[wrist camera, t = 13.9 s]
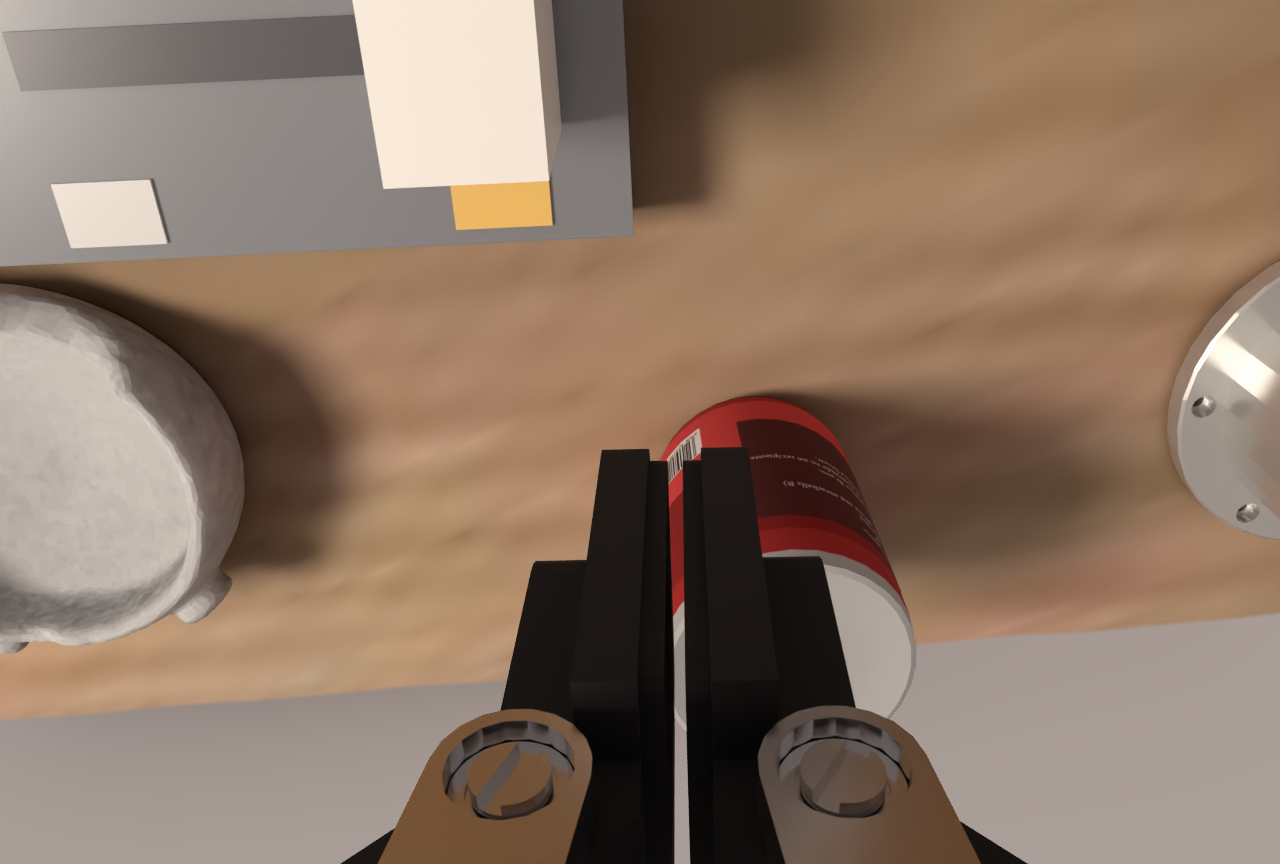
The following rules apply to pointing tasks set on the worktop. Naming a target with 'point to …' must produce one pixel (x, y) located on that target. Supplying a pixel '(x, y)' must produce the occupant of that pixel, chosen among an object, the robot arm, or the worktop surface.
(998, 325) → the worktop surface
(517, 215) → the breaker panel
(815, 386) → the worktop surface
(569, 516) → the worktop surface
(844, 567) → the canned food
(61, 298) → the dish
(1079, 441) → the worktop surface
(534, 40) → the block
